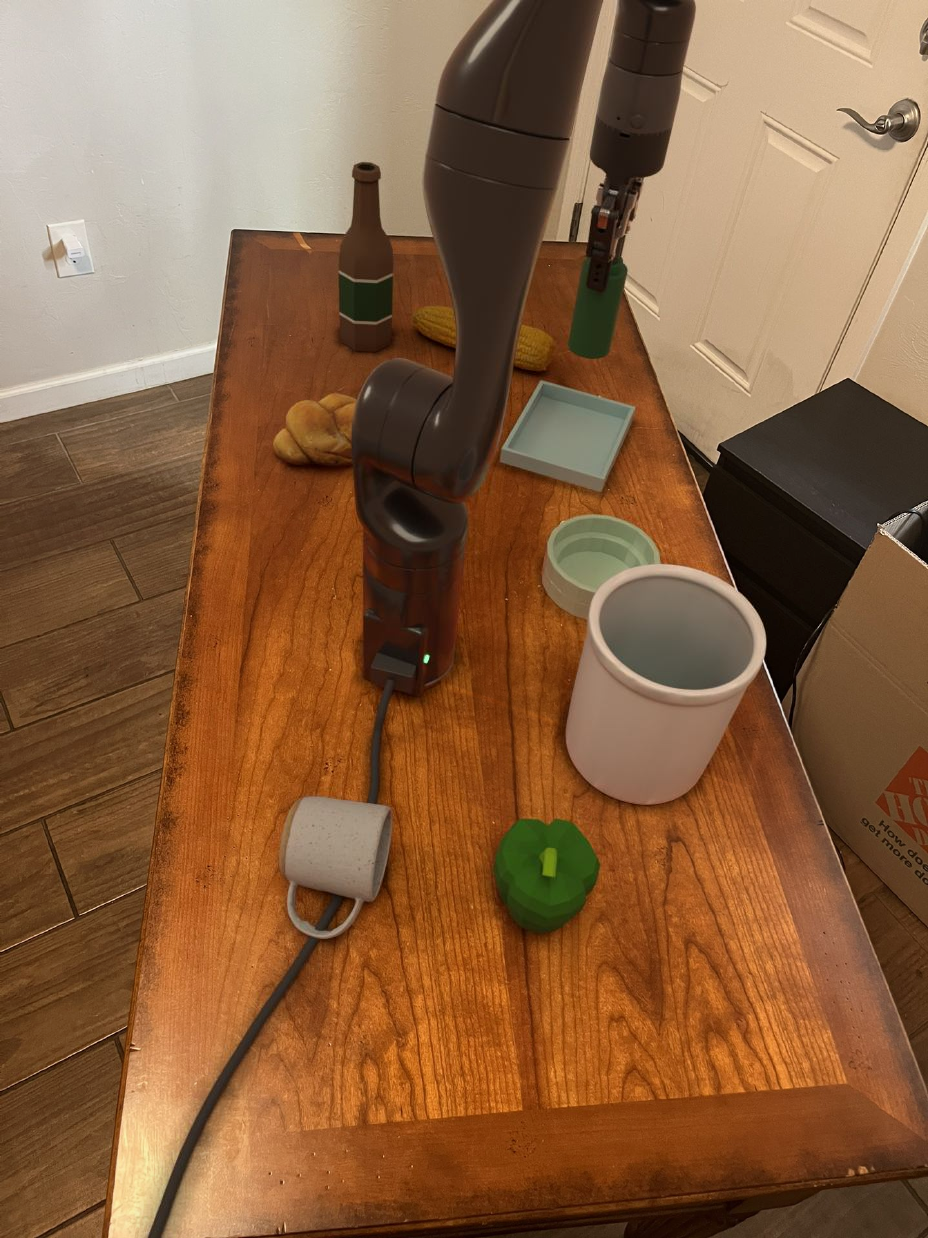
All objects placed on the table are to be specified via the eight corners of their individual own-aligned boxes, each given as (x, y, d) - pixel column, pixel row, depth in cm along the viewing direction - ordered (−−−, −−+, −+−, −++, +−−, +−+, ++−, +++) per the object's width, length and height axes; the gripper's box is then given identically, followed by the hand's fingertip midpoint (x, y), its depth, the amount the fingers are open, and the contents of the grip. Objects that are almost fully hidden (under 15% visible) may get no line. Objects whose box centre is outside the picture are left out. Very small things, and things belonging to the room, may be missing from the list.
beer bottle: (330, 328, 134) (325, 156, 117) (381, 319, 137) (384, 149, 119) (349, 358, 130) (347, 183, 112) (401, 348, 133) (407, 176, 115)
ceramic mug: (302, 818, 83) (296, 773, 77) (393, 835, 82) (395, 790, 77) (267, 934, 76) (258, 894, 70) (366, 953, 76) (366, 914, 70)
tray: (600, 495, 115) (604, 479, 113) (499, 465, 117) (501, 448, 115) (631, 422, 125) (635, 406, 123) (538, 395, 128) (540, 379, 126)
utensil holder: (533, 702, 93) (560, 580, 80) (663, 667, 98) (710, 546, 84) (597, 829, 84) (640, 716, 71) (738, 785, 89) (803, 670, 76)
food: (554, 363, 133) (561, 326, 129) (542, 384, 130) (548, 346, 125) (418, 323, 137) (420, 285, 133) (402, 342, 134) (404, 304, 129)
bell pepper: (516, 837, 83) (531, 777, 76) (599, 885, 81) (623, 827, 73) (467, 913, 78) (478, 857, 71) (555, 967, 76) (575, 914, 68)
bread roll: (277, 480, 112) (272, 426, 106) (269, 430, 118) (264, 376, 112) (384, 471, 115) (385, 417, 109) (370, 422, 121) (371, 368, 115)
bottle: (603, 363, 108) (628, 251, 98) (562, 352, 109) (582, 240, 99) (614, 341, 111) (639, 231, 101) (574, 330, 112) (595, 220, 102)
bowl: (635, 640, 100) (645, 608, 96) (526, 604, 102) (532, 572, 98) (660, 565, 108) (670, 534, 104) (558, 534, 110) (565, 502, 106)
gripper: (616, 81, 96) (587, 240, 109) (578, 131, 87) (551, 298, 100) (688, 97, 95) (650, 256, 108) (656, 149, 86) (619, 317, 98)
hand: (602, 276), depth 104 cm, fingers closed on bottle, 5 cm apart
